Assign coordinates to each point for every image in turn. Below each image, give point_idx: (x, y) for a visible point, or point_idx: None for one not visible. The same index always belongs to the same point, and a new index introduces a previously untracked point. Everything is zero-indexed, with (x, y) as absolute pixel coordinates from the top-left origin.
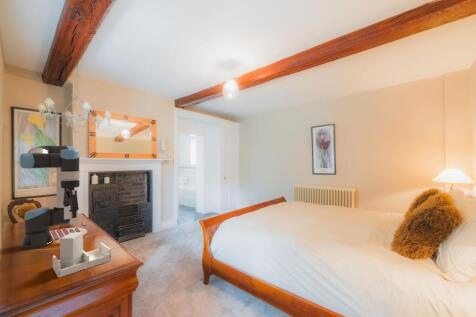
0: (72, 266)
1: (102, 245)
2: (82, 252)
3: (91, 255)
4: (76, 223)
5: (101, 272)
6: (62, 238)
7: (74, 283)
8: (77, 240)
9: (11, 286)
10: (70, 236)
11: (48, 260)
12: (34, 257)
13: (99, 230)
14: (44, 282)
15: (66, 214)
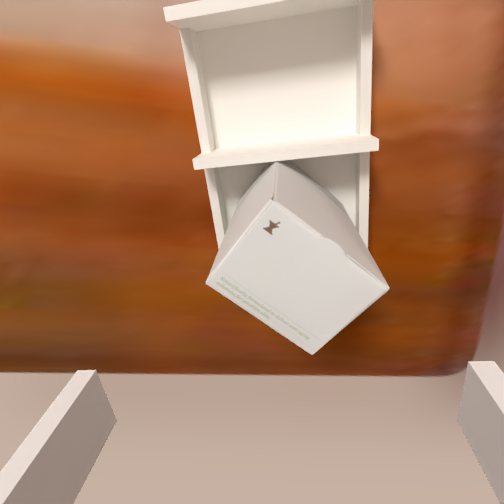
0: (366, 215)
1: (216, 14)
2: (284, 166)
3: (217, 98)
4: (494, 374)
5: (489, 83)
6: (326, 342)
7: (484, 209)
8: (341, 235)
9: (298, 363)
10: (328, 299)
11: (120, 268)
12: (49, 304)
13: None
14: None
15: (74, 467)
